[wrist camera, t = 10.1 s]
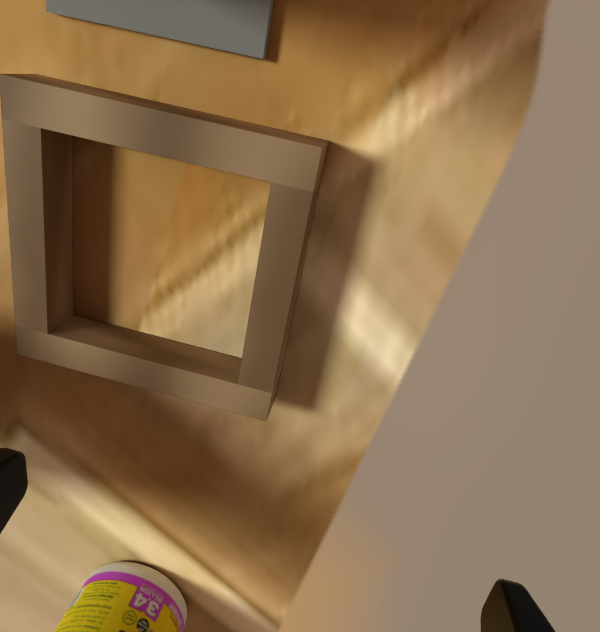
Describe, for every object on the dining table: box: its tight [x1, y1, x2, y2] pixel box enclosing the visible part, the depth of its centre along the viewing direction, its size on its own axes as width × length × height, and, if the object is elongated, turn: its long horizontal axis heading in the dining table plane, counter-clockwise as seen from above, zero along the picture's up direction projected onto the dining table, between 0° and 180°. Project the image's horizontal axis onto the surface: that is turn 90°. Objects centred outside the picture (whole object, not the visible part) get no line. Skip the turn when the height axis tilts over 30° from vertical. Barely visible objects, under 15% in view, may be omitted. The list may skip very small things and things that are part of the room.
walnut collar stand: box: [0, 74, 329, 421], centre depth 21 cm, size 12×12×2 cm
